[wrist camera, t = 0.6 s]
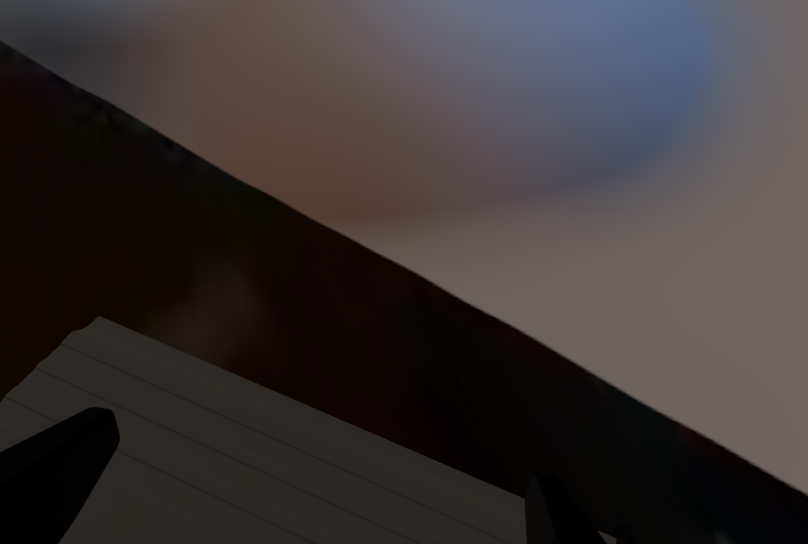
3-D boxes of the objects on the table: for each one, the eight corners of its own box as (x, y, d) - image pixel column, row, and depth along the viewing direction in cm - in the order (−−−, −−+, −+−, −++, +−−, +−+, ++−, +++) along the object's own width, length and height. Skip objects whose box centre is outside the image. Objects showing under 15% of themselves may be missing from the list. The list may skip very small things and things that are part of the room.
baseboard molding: (123, 306, 27) (-75, 504, 19) (104, 278, 25) (-129, 491, 17) (609, 512, 23) (594, 856, 16) (639, 501, 21) (638, 899, 13)
